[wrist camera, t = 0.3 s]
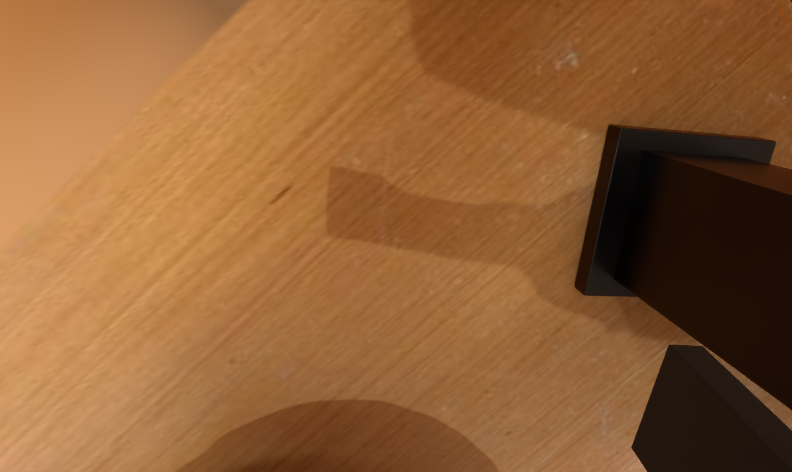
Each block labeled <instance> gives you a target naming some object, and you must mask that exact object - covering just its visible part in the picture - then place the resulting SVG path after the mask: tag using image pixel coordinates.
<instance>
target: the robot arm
mask: <svg viewBox="0 0 792 472" xmlns="http://www.w3.org/2000/svg"><path fill="white" fill-rule="evenodd" d="M632 449H633V451H634V452H635V454H636V455H637V457H638V458H639V460H640V461H641V463H642V464H643V466H644V467H645V469H646V470H647V472H792V431H791V430H790V429H789V428H788V427H787V426H786V425H785V424H784V423H783V422H782V421H781V420H780V419H779V418H778V417H777V416H776V415H774V414H773V413H772V412H771V411H770V410H769V409H768V408H767V407H766V406H765V405H764V404H763V403H762V402H761V401H760V400H759V399H758V398H757V397H755V396H754V395H753V394H752V393H751V392H750V391H749V390H748V389H747V388H746V387H745V386H744V385H743V384H742V383H741V382H740V381H739V380H737V379H736V378H735V377H734V376H733V375H732V374H731V373H730V372H729V371H728V370H727V369H726V368H725V367H724V366H723V365H722V364H721V363H720V362H718V361H717V360H716V359H715V358H714V357H713V356H712V355H711V354H710V353H709V352H708V351H707V350H706V349H705V348H704V347H703V346H689V345H669V346H668V348H667V351H666V354H665V357H664V359H663V362H662V365H661V368H660V370H659V373H658V376H657V379H656V381H655V384H654V387H653V390H652V393H651V395H650V398H649V401H648V404H647V406H646V409H645V412H644V415H643V417H642V420H641V423H640V426H639V428H638V431H637V434H636V437H635V439H634V442H633V445H632Z"/></svg>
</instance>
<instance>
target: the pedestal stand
mask: <svg viewBox="0 0 792 472" xmlns="http://www.w3.org/2000/svg"><path fill="white" fill-rule="evenodd" d="M775 144H776V142H775V141H773V140H768V139H763V138H756V137H745V136H734V135H723V134H711V133H700V132H689V131H678V130H667V129H655V128H644V127H633V126H622V125H609V127H608V131H607V136H606V141H605V146H604V150H603V155H602V160H601V164H600V169H599V174H598V179H597V183H596V188H595V193H594V197H593V202H592V207H591V212H590V216H589V221H588V226H587V230H586V235H585V240H584V244H583V249H582V254H581V259H580V263H579V268H578V273H577V277H576V282H575V288H576V289H577V290H579V291H580V292H581V293H582V294H583V295H588V296H629V297H639V298H640V299H641V300H643V301H644V302H645V303H647V304H648V305H649V306H651V307H652V308H654V309H655V310H656V311H658V312H659V313H660V314H662V315H663V316H664V317H666V318H667V319H668V320H670V321H671V322H673V323H674V324H675V325H677V326H678V327H679V328H681V329H682V330H683V331H685V332H686V333H688V334H689V335H690V336H692V337H693V338H694V339H696V340H697V341H698V342H700V343H701V344H703V345H704V346H705V347H707V348H708V349H709V350H711V351H712V352H713V353H715V354H716V355H717V356H719V357H720V358H722V359H723V360H724V361H726V362H727V363H728V364H730V365H731V366H732V367H734V368H735V369H737V370H738V371H739V372H741V373H742V374H743V375H745V376H746V377H747V378H749V379H750V380H751V381H753V382H754V383H756V384H757V385H758V386H760V387H761V388H762V389H764V390H765V391H766V392H768V393H769V394H771V395H772V396H773V397H775V398H776V399H777V400H779V401H780V402H781V403H783V404H784V405H786V406H787V407H788V408H790V409H791V410H792V170H790V169H786V168H782V167H778V166H774V165H770V161H771V157H772V154H773V151H774V148H775Z"/></svg>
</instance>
